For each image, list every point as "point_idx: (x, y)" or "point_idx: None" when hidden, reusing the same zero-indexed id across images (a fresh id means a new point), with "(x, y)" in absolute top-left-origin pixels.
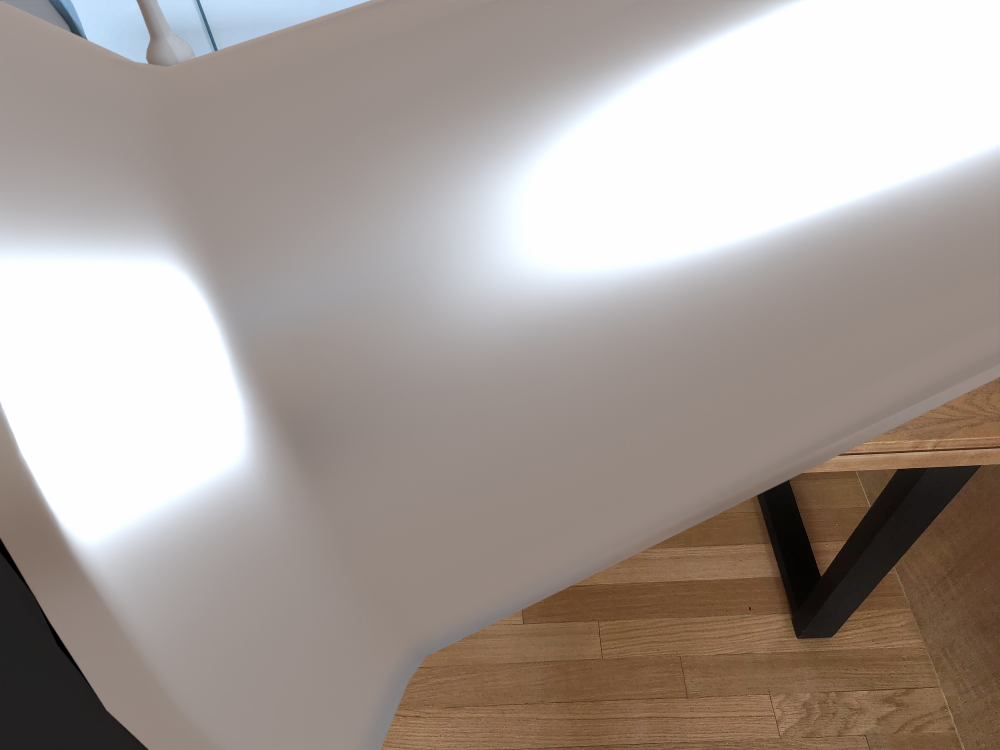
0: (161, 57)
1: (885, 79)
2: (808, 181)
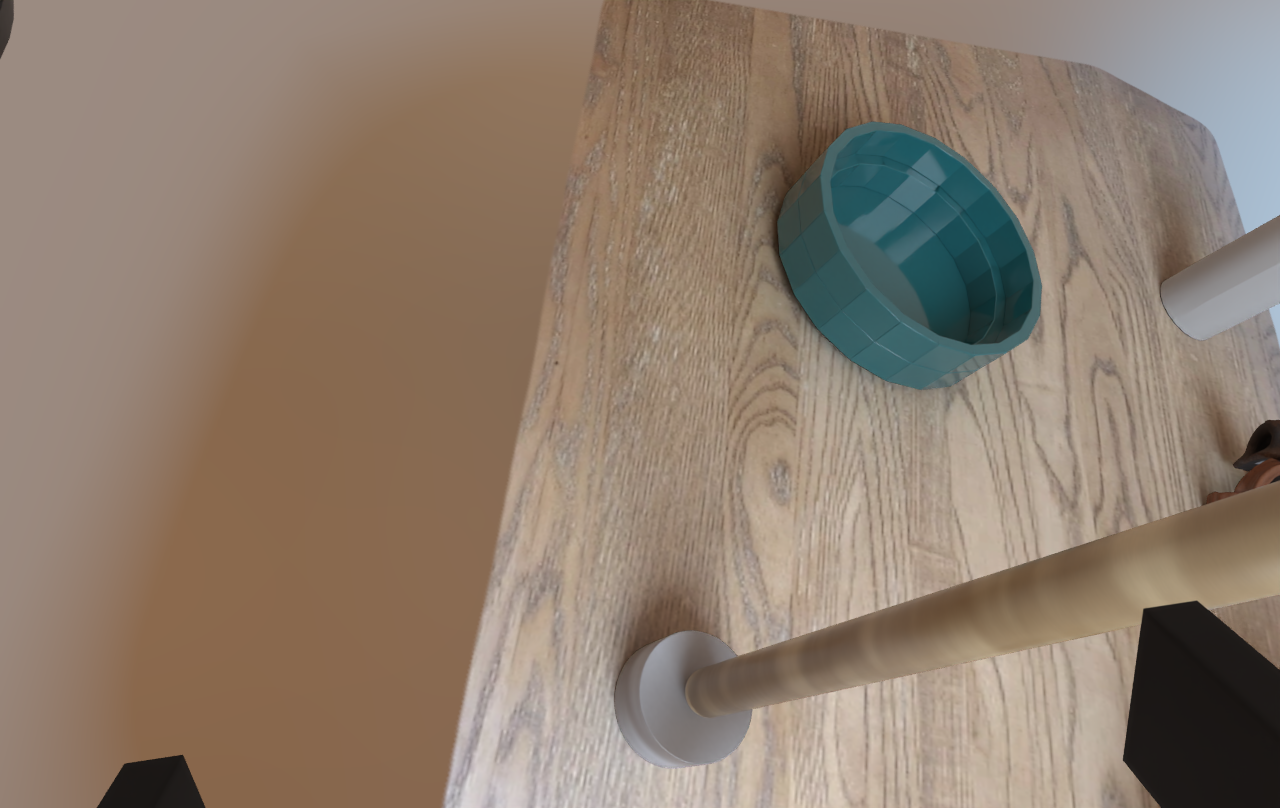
0: None
1: None
2: None
